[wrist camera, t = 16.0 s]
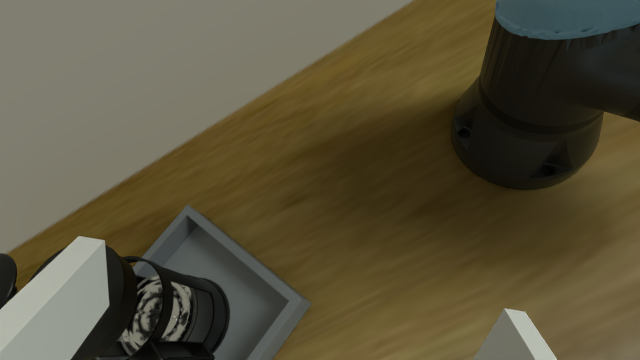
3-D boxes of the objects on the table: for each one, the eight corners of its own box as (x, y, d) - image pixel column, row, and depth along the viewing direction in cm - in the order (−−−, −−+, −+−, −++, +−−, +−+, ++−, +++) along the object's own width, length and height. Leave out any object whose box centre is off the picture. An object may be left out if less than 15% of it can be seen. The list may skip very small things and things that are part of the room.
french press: (138, 316, 42) (-112, 283, 22) (198, 258, 43) (17, 176, 23) (190, 400, 36) (-78, 461, 16) (255, 330, 38) (86, 307, 18)
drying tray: (203, 215, 47) (187, 204, 44) (311, 303, 39) (302, 298, 35) (99, 338, 43) (71, 337, 39) (196, 466, 35) (172, 479, 31)
